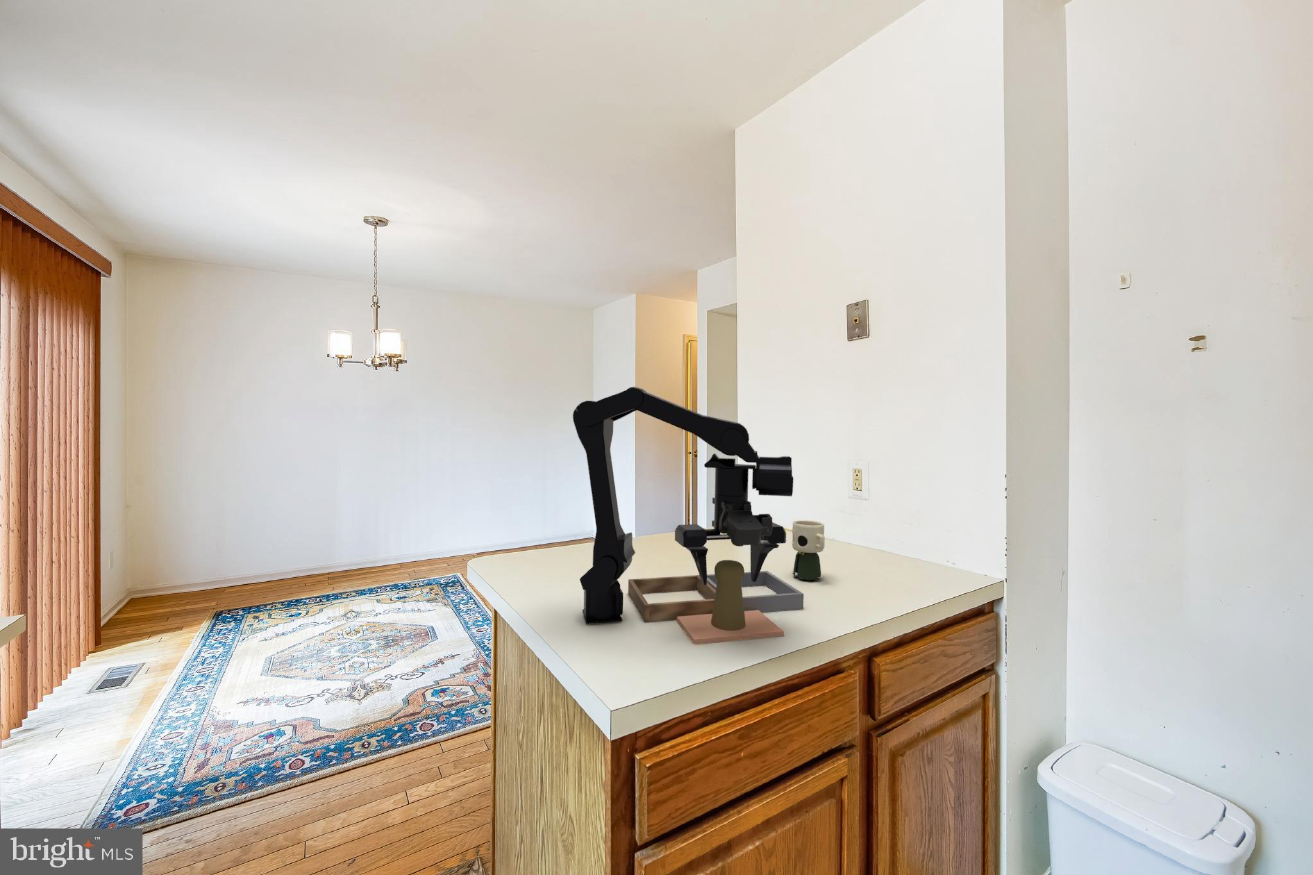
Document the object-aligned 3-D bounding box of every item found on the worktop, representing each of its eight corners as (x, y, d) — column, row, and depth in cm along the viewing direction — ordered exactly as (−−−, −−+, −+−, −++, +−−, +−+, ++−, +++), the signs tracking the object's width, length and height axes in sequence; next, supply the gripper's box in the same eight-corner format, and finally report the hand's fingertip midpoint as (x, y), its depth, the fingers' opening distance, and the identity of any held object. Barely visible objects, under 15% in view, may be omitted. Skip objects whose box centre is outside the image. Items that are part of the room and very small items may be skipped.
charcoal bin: (728, 615, 96) (728, 599, 96) (700, 588, 112) (701, 574, 111) (803, 608, 100) (803, 593, 100) (767, 584, 115) (767, 570, 115)
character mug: (780, 573, 124) (781, 519, 123) (804, 570, 127) (805, 517, 126) (809, 587, 114) (810, 528, 113) (835, 583, 116) (836, 526, 116)
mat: (694, 644, 84) (694, 639, 84) (676, 620, 93) (676, 616, 93) (784, 635, 87) (784, 631, 87) (758, 614, 97) (758, 609, 97)
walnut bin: (644, 622, 92) (644, 605, 92) (628, 593, 108) (628, 579, 108) (726, 615, 96) (726, 599, 96) (699, 588, 111) (699, 574, 111)
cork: (744, 632, 87) (746, 567, 86) (708, 628, 88) (710, 564, 88) (746, 618, 93) (747, 558, 92) (712, 615, 94) (714, 555, 94)
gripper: (694, 502, 79) (692, 602, 80) (803, 499, 84) (801, 594, 85) (674, 492, 90) (673, 580, 91) (772, 490, 95) (770, 574, 95)
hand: (729, 582), depth 90 cm, fingers open, 9 cm apart
